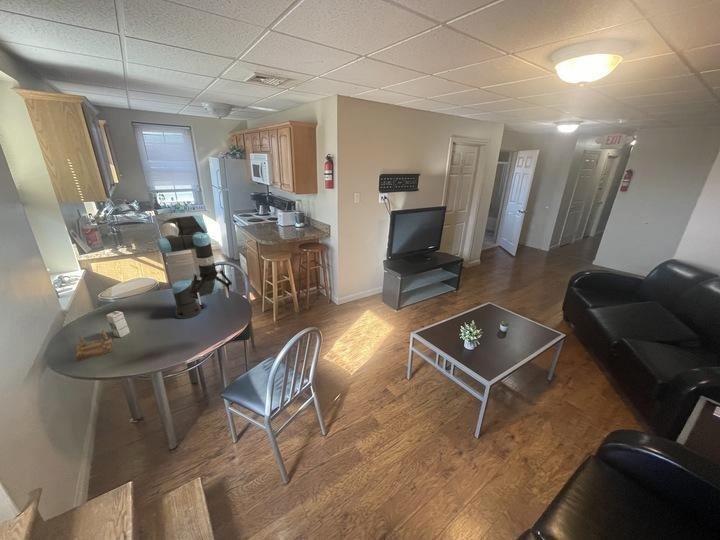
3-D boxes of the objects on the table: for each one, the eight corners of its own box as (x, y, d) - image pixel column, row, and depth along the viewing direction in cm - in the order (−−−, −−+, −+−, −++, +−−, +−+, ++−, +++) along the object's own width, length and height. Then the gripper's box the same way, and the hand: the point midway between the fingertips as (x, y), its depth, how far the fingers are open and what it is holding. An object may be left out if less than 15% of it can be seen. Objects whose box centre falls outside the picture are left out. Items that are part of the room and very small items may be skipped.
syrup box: (130, 332, 173) (123, 311, 168) (120, 337, 168) (112, 316, 163) (123, 330, 175) (116, 310, 170) (113, 336, 170) (105, 314, 164)
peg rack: (80, 349, 158) (75, 337, 155) (112, 340, 166) (108, 328, 163) (76, 361, 149) (71, 348, 146) (111, 351, 157) (106, 339, 154)
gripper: (179, 271, 137) (189, 309, 145) (233, 261, 150) (239, 296, 159) (177, 266, 142) (187, 303, 151) (230, 257, 156) (236, 291, 164)
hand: (214, 300), depth 155 cm, fingers open, 13 cm apart
